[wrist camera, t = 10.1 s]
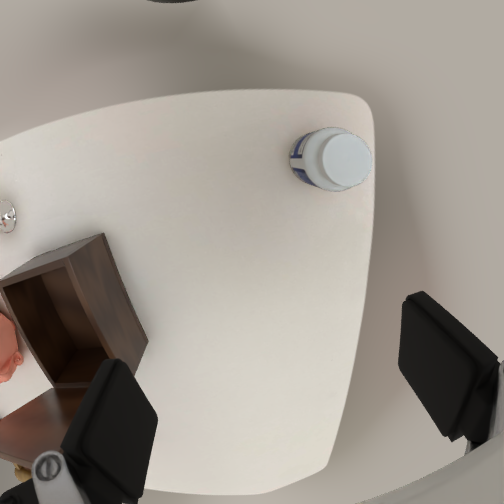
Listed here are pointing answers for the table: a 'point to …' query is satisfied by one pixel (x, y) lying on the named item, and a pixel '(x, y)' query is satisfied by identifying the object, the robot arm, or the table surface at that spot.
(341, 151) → the pill bottle
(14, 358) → the teapot
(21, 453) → the lid
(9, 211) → the wineglass
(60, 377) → the chest
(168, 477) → the table surface
